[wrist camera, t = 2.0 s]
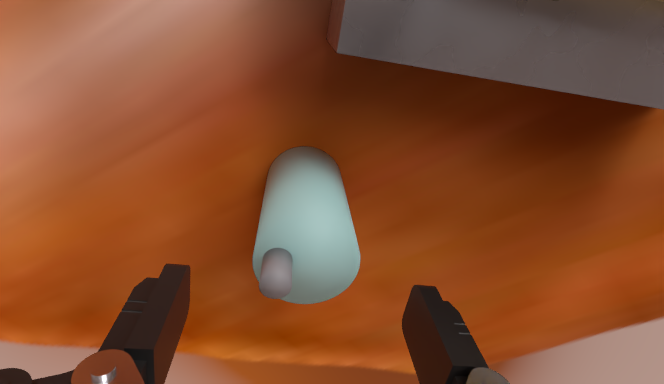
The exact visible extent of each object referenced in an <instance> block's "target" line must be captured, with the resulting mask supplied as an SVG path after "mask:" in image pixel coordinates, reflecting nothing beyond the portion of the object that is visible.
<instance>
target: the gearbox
mask: <svg viewBox="0 0 664 384" xmlns="http://www.w3.org/2000/svg"><path fill="white" fill-rule="evenodd" d="M326 40H327V41H328V42H329V44H330V45H331V46H332V48H333V49H334V50H335V51H336V53H340V54H346V55H352V56H357V57H363V58H369V59H375V60H381V61H386V62H392V63H398V64H404V65H410V66H415V67H421V68H427V69H433V70H439V71H444V72H450V73H456V74H462V75H468V76H473V77H479V78H485V79H491V80H497V81H502V82H508V83H514V84H520V85H526V86H531V87H537V88H543V89H549V90H554V91H560V92H566V93H572V94H578V95H583V96H589V97H595V98H601V99H607V100H612V101H618V102H624V103H630V104H636V105H641V106H647V107H653V108H659V109H664V0H332V5H331V11H330V18H329V24H328V31H327V37H326Z"/></svg>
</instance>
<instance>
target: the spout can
mask: <svg viewBox="0 0 664 384" xmlns="http://www.w3.org/2000/svg"><path fill="white" fill-rule="evenodd" d="M359 267H360V251H359V247H358V243H357V238H356V234H355V230H354V226H353V222H352V218H351V214H350V210H349V206H348V202H347V198H346V194H345V189H344V185H343V181H342V177H341V173H340V170H339V167H338V165H337V164H336V162H335V161H334V159H333V158H332V157H331V156H330V155H328V154H327V153H326V152H324V151H322V150H320V149H317V148H314V147H307V146H302V147H295V148H292V149H289V150H287V151H285V152H283V153H282V154H280V155H279V156H278V157H277V158H276V159H275V160H274V161H273V163H272V164H271V166H270V169H269V172H268V176H267V182H266V187H265V193H264V198H263V204H262V209H261V215H260V220H259V226H258V231H257V236H256V242H255V247H254V253H253V270H254V273H255V276H256V278H257V280H258V281H259V289H260V291H261V293H262V294H263V295H264V296H266V297H268V298H272V299H281V300H284V301H287V302H291V303H297V304H313V303H319V302H323V301H326V300H329V299H331V298H333V297H335V296H337V295H339V294H340V293H342V292H343V291H344V290H345V289H346V288H348V286H349V285H350V284H351V283H352V282H353V280H354V279H355V277H356V275H357V273H358V270H359Z"/></svg>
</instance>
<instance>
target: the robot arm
mask: <svg viewBox="0 0 664 384" xmlns="http://www.w3.org/2000/svg"><path fill="white" fill-rule="evenodd" d="M189 302H190V266H189V265H178V264H166V265H165V266H164V268H163V270H162V272H161V274H160V276H159V278H146V279H144V280H143V281H142V282H141V283H139V284H138V285H137V286H136V287H134V289H133V291H132V293H131V294H130V296H129V298H128V300H127V302H126V303H125V305H124V307H123V309H122V312H120V314H119V316H118V317H117V319H116V321H115V323H114V324H113V326H112V328H111V330H110V332H109V333H108V335H107V337H106V339H105V340H104V342H103V344H102V346H101V348H100V349H99V351H98V352H97V353H94V354H92V355H90V356H89V357H87V358H85V359H84V360H83V361H82V362H81V363H80V364H79V365H78V366H77V367H76V368H75V369H74V370H73V371H70V372H67V373H63V374H59V375H54V376H49V377H45V378H40V379H35V380H32V379H31V376H30V375H29V373H27V372H26V371H24V370H22V369H17V368H7V369H1V370H0V384H164V383H165V379H166V377H167V373H168V371H169V368H170V365H171V362H172V359H173V356H174V353H175V350H176V348H177V345H178V342H179V339H180V336H181V333H182V330H183V327H184V324H185V321H186V318H187V315H188V310H189ZM402 330H403V334H404V337H405V340H406V343H407V346H408V349H409V353H410V356H411V359H412V362H413V365H414V368H415V371H416V374H417V377H418V380H419V383H420V384H510V383H509V382H508V381H507V380H506V379H505V378H504V377H503V376H502V375H500V374H499V373H497V372H496V371H493V370H491V369H489V368H488V366H487V364H486V362H485V360H484V358H483V356H482V354H481V353H480V351H479V349H478V347H477V345H476V343H475V341H474V339H473V338H472V336H471V335H470V332H469V330H468V328H467V326H465V323H464V321H463V319H462V317H461V315H460V313H459V312H458V311H457V310H456V309H455V308H454V307H453V306H452V305H451V304H450V303H449V302H448V301H443V300H442V298H441V296H440V294H439V292H438V290H437V288H436V287H435V286H424V285H414V286H413V288H412V290H411V293H410V296H409V299H408V302H407V305H406V308H405V311H404V314H403V318H402Z"/></svg>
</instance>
